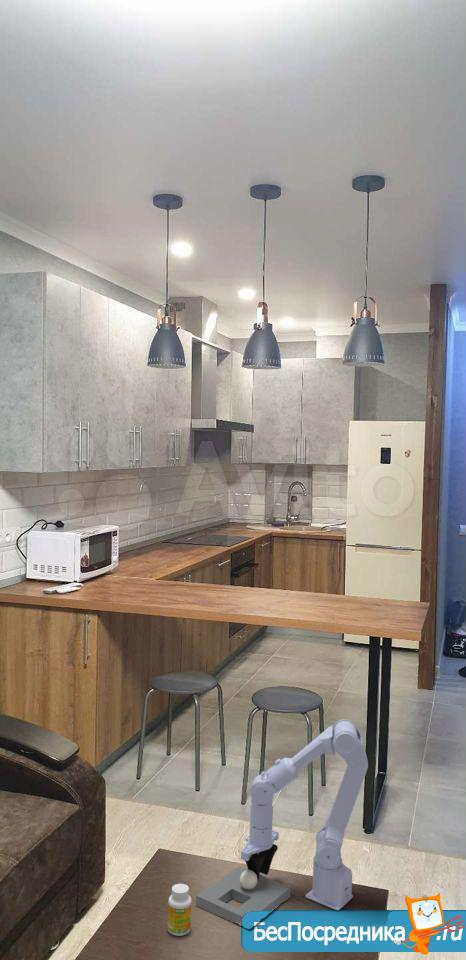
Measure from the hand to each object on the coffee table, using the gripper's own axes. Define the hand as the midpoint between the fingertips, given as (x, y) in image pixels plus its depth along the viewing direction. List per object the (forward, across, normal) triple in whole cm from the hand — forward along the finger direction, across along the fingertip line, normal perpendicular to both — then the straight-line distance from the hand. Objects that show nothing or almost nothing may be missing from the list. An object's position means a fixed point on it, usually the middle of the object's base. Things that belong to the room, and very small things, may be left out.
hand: (259, 877), depth 198 cm
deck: (+3, +7, 0) cm, 7 cm away
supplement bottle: (+3, +26, -5) cm, 26 cm away
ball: (-1, +5, 0) cm, 5 cm away
